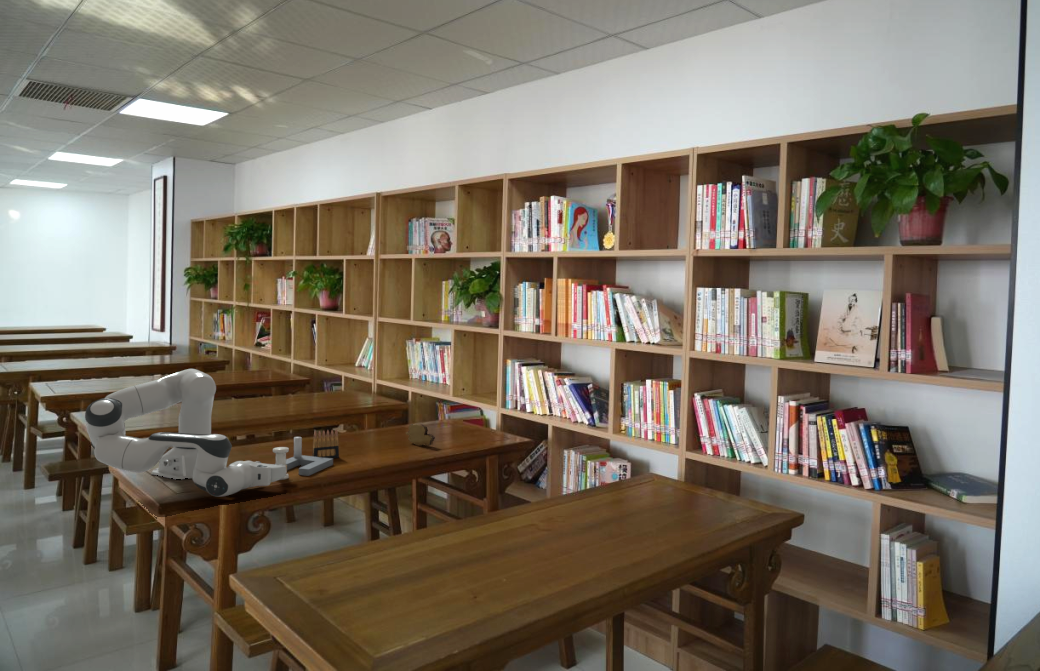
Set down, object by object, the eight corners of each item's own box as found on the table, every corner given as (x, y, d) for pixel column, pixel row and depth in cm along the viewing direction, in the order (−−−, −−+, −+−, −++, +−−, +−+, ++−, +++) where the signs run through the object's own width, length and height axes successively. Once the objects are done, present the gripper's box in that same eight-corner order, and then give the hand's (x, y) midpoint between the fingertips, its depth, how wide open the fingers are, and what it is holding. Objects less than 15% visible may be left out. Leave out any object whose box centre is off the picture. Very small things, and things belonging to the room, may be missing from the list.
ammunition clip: (313, 460, 293) (313, 431, 293) (312, 459, 295) (312, 430, 294) (339, 457, 299) (339, 429, 298) (337, 456, 301) (338, 428, 300)
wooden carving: (437, 446, 325) (437, 425, 324) (431, 448, 321) (431, 426, 320) (409, 441, 333) (409, 420, 332) (402, 443, 329) (403, 422, 328)
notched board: (271, 471, 274) (271, 444, 273) (297, 460, 291) (298, 435, 291) (308, 475, 270) (308, 448, 269) (332, 464, 287) (333, 438, 287)
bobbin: (269, 478, 264) (269, 449, 263) (278, 475, 270) (278, 446, 269) (282, 480, 263) (283, 451, 262) (291, 476, 268) (291, 447, 267)
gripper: (220, 480, 248) (245, 470, 261) (271, 486, 243) (295, 476, 256) (220, 462, 248) (245, 453, 261) (272, 468, 242) (295, 458, 256)
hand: (270, 464), depth 259 cm, fingers open, 8 cm apart
